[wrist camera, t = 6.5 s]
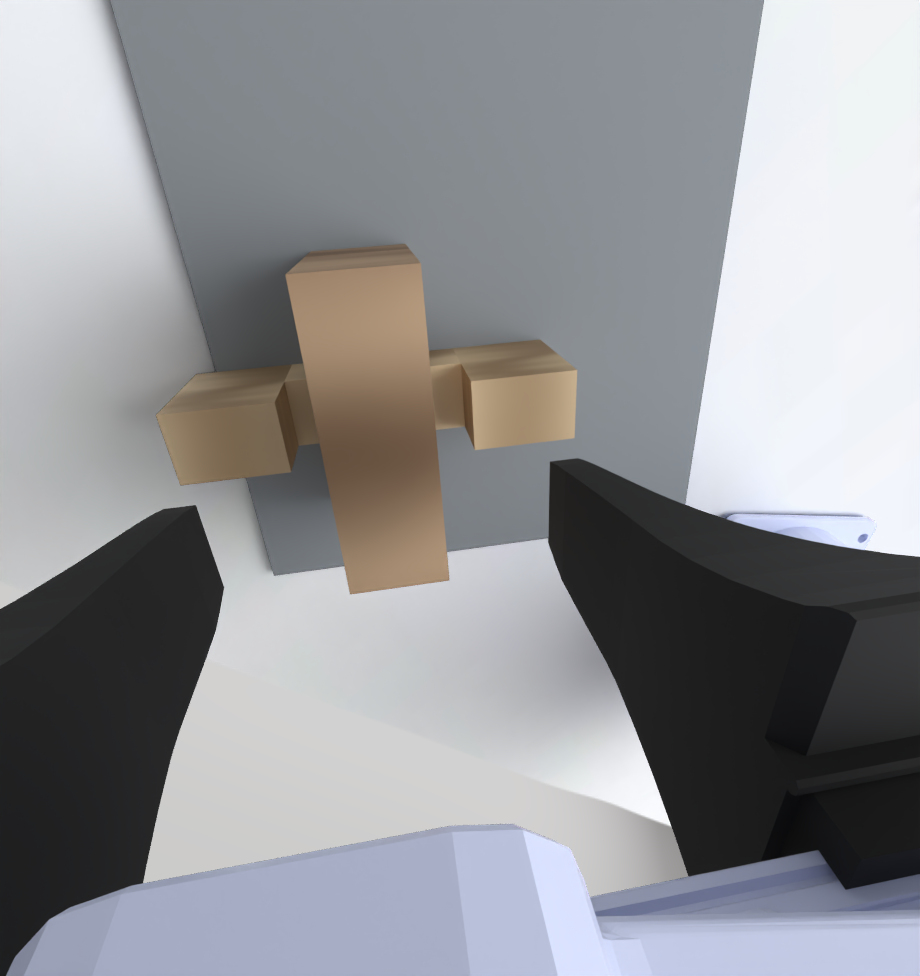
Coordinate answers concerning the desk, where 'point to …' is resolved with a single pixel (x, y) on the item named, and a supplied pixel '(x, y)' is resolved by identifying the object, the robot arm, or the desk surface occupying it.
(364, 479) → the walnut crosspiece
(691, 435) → the slate mat
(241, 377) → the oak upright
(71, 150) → the desk surface
